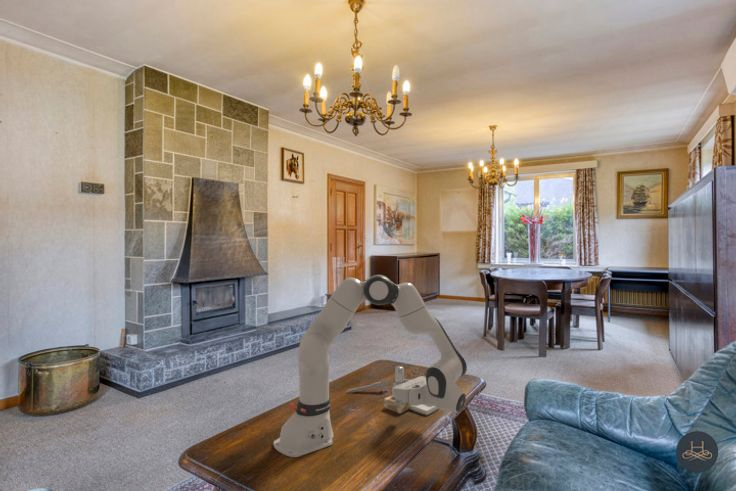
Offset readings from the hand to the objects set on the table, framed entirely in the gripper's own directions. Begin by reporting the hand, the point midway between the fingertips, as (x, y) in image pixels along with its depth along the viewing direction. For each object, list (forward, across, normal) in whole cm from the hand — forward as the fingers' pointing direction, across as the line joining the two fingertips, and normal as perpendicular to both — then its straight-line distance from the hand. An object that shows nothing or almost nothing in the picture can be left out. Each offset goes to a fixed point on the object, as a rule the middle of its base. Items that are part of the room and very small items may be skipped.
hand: (397, 382), depth 162 cm
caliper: (+30, -13, +16) cm, 36 cm away
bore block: (+7, -9, +15) cm, 19 cm away
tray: (-3, -15, +15) cm, 22 cm away
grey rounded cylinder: (-1, 0, +8) cm, 9 cm away
